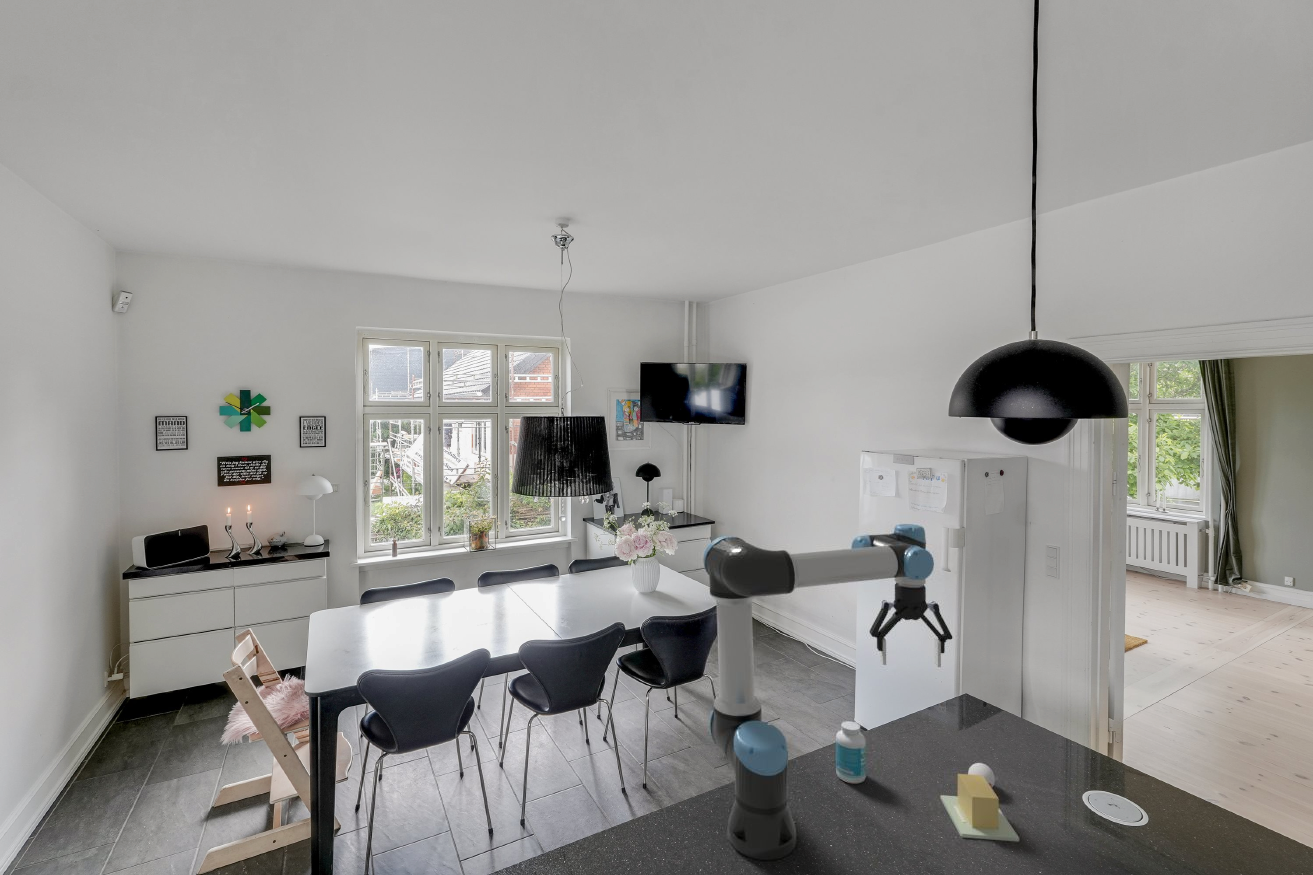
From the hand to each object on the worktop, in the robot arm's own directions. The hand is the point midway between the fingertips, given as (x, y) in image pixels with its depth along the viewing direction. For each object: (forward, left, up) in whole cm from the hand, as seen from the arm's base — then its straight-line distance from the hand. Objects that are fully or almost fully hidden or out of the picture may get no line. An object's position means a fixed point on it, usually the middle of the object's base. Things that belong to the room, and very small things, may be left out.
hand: (910, 664), depth 159 cm
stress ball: (+15, -5, -29) cm, 33 cm away
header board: (+10, -18, -29) cm, 35 cm away
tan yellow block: (+10, -18, -28) cm, 35 cm away
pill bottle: (-16, -4, -29) cm, 33 cm away
